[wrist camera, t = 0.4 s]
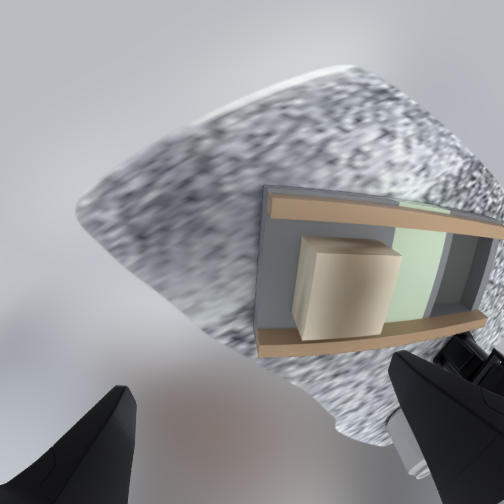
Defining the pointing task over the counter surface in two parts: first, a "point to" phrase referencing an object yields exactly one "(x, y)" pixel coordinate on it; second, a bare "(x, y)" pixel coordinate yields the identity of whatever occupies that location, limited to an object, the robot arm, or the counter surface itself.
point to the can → (407, 445)
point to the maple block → (343, 287)
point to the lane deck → (394, 236)
